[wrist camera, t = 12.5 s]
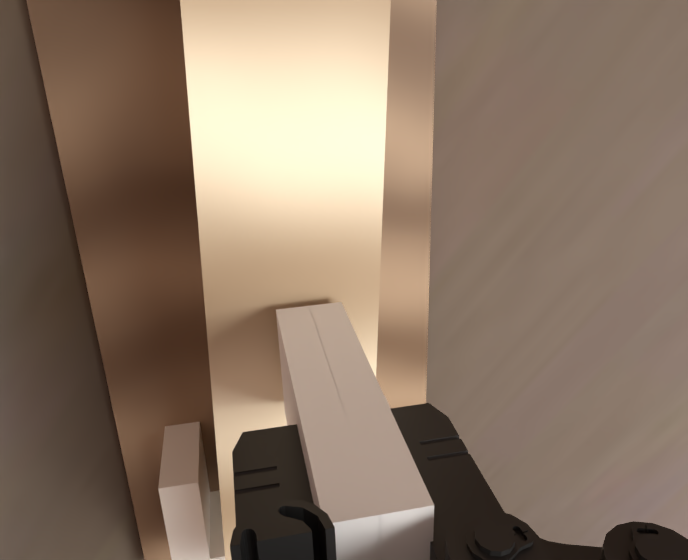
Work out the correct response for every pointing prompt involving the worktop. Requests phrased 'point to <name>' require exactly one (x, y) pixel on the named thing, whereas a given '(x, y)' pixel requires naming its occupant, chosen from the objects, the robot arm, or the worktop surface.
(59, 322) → the worktop surface
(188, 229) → the walnut board
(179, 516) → the end caps
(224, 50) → the slat
